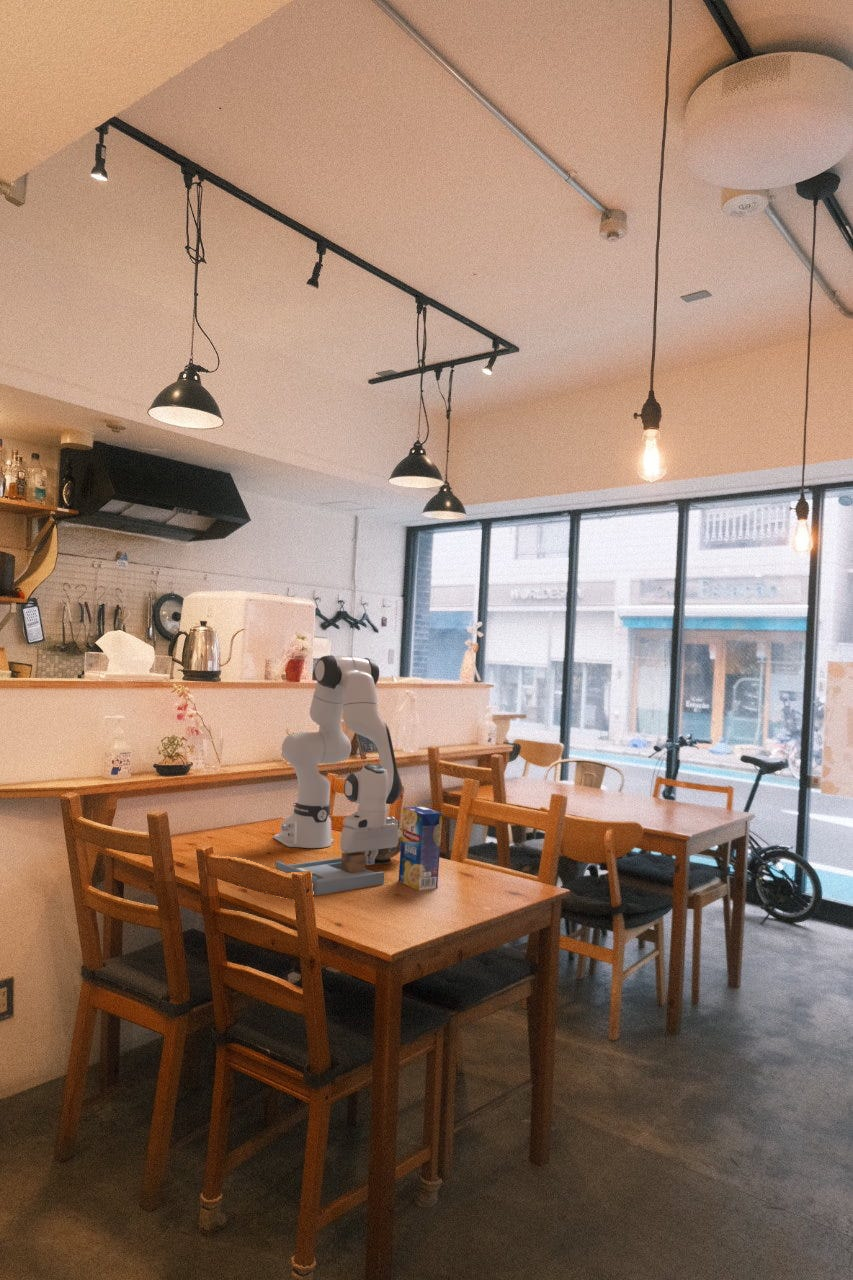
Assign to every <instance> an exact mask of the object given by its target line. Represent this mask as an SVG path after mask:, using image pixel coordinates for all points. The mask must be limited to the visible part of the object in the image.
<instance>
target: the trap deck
mask: <svg viewBox="0 0 853 1280" xmlns="http://www.w3.org/2000/svg"><path fill="white" fill-rule="evenodd" d="M341 859H342V857H336V858H335V857H334V858H328V859H322V860H314V861H308V862H299V863H291V864H287V863H285V862H282V861H280V860H276V861H275V867H274V868H275V869H277V870H280V871H283V872H285V873H291V872H304V871H311V873H312V883H313V891H314V895H315V896H321V895H327V894H333V893H339V892H345V891H351V890H357V889H361V888H369V887H374V886H381V885H384V884H385V883H384V882H385V872H384V871H383V870H382V871H377V872H375V871H373V870H371V869H368V868H365V867H364V872H357V873H348V872H346V871H343V870H341ZM275 869H274V870H275ZM315 896H314V897H315Z"/></svg>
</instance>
